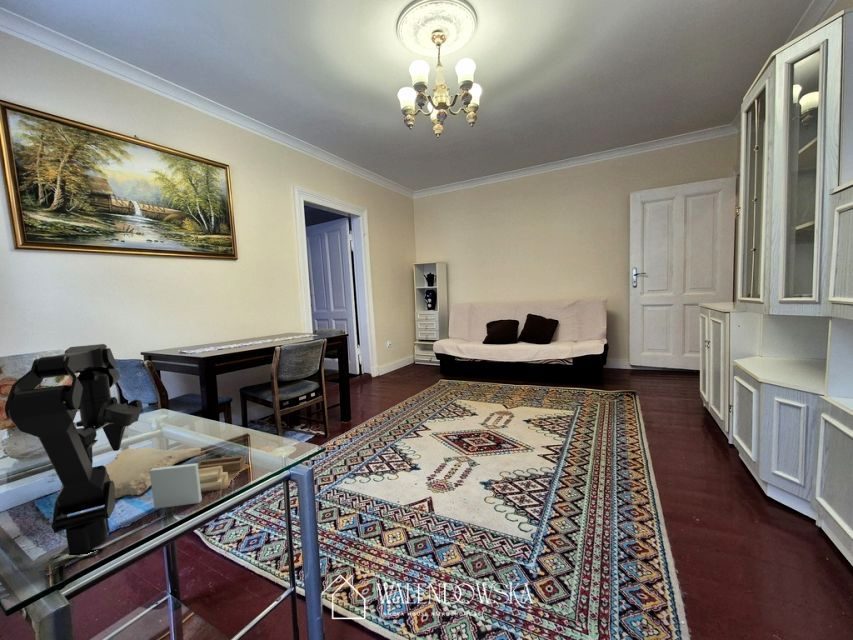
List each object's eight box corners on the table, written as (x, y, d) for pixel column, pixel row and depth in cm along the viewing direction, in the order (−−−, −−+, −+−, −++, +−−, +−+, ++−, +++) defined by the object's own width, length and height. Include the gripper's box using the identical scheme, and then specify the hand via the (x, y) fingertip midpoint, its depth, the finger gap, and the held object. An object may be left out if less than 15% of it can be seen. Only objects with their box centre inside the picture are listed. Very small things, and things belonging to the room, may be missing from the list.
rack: (230, 491, 93) (228, 479, 92) (179, 498, 91) (177, 485, 90) (247, 465, 106) (246, 453, 106) (203, 470, 104) (202, 458, 104)
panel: (199, 504, 87) (195, 465, 86) (154, 510, 85) (149, 470, 84) (201, 501, 88) (197, 463, 87) (157, 507, 86) (152, 468, 85)
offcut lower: (221, 488, 93) (220, 481, 92) (187, 492, 91) (187, 485, 91) (228, 478, 97) (227, 471, 97) (196, 482, 96) (195, 475, 96)
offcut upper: (217, 481, 93) (216, 473, 92) (188, 485, 91) (187, 478, 91) (222, 472, 97) (222, 465, 97) (194, 476, 95) (194, 469, 95)
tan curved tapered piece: (69, 506, 91) (143, 497, 90) (63, 478, 90) (138, 469, 90) (147, 462, 115) (206, 454, 114) (142, 439, 115) (201, 432, 114)
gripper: (104, 406, 76) (114, 475, 78) (154, 383, 95) (161, 439, 96) (44, 412, 75) (56, 481, 76) (107, 387, 93) (115, 443, 95)
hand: (103, 459), depth 86 cm, fingers open, 9 cm apart
